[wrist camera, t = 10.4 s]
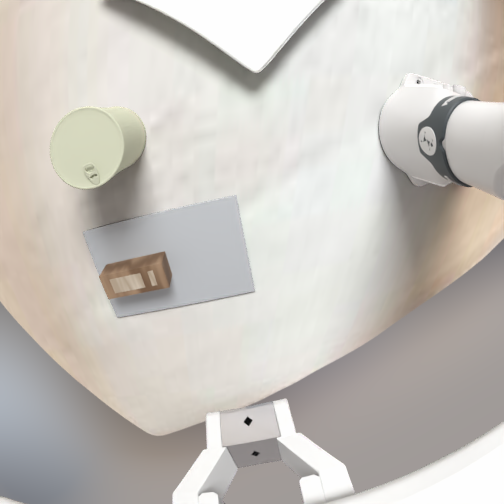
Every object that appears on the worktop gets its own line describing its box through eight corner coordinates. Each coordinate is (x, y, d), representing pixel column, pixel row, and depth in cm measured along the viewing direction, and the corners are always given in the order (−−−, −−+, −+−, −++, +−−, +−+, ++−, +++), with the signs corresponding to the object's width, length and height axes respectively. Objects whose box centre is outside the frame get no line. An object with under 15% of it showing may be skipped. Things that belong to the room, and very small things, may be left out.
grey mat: (236, 195, 45) (236, 195, 45) (254, 289, 52) (254, 291, 52) (83, 231, 44) (82, 232, 44) (118, 316, 51) (117, 317, 51)
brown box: (161, 263, 43) (98, 276, 43) (169, 287, 45) (108, 299, 45) (164, 251, 47) (106, 264, 47) (172, 274, 49) (114, 285, 48)
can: (97, 180, 41) (64, 203, 31) (77, 122, 38) (37, 128, 27) (154, 157, 41) (135, 173, 31) (134, 96, 37) (108, 91, 27)
